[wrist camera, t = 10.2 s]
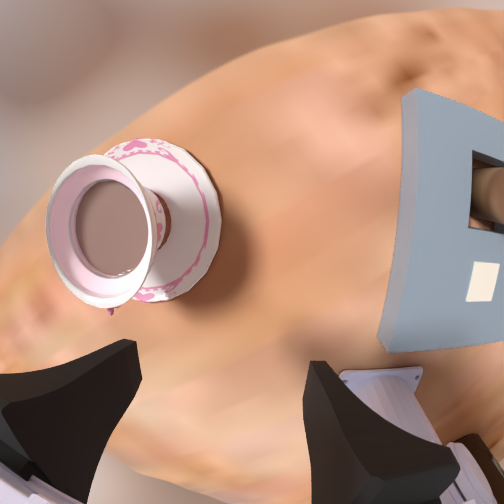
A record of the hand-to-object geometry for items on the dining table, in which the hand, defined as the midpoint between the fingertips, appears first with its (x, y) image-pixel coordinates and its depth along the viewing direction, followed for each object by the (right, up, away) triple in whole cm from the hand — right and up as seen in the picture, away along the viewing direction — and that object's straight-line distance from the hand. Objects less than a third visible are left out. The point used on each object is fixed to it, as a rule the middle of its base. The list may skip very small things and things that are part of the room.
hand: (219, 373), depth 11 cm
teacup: (-7, +7, +9) cm, 13 cm away
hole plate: (+19, +7, +7) cm, 21 cm away
